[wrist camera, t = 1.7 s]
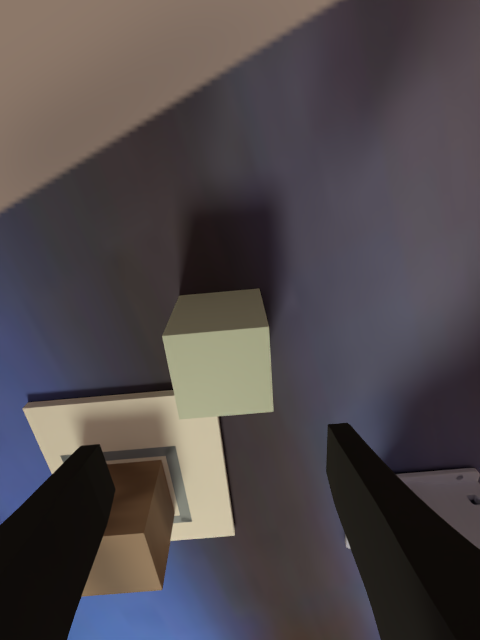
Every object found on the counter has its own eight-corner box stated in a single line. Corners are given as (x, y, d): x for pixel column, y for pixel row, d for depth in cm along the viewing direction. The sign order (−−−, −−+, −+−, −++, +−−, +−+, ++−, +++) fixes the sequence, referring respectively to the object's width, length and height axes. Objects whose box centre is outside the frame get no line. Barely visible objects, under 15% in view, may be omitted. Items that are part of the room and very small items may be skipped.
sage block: (259, 288, 18) (268, 326, 14) (263, 357, 20) (273, 411, 15) (179, 295, 18) (162, 336, 14) (191, 363, 20) (179, 419, 16)
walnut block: (161, 459, 22) (143, 533, 18) (174, 512, 25) (162, 589, 20) (82, 466, 22) (44, 541, 18) (102, 518, 25) (73, 596, 20)
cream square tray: (214, 386, 21) (213, 392, 20) (234, 528, 26) (234, 535, 26) (27, 402, 21) (22, 408, 20) (88, 540, 27) (85, 548, 26)
